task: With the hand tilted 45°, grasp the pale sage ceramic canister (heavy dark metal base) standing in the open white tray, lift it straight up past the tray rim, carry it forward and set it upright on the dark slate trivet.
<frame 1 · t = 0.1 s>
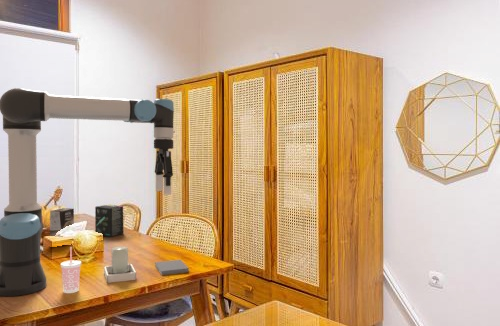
hand: (163, 192, 166), 28 cm above the table, tool pointing down, fingers open, 13 cm apart
white tray: (119, 276, 149), on the table
trivet: (171, 269, 159), on the table
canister: (119, 262, 149), in the white tray
beverage cup: (71, 291, 135), on the table
tampon box: (109, 234, 215), on the table
coffee box: (62, 244, 194), on the table
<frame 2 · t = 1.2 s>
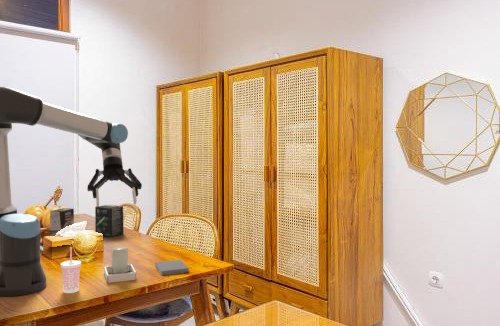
hand: (116, 203, 160), 24 cm above the table, tool tilted 45°, fingers open, 13 cm apart
nothing on the table moved.
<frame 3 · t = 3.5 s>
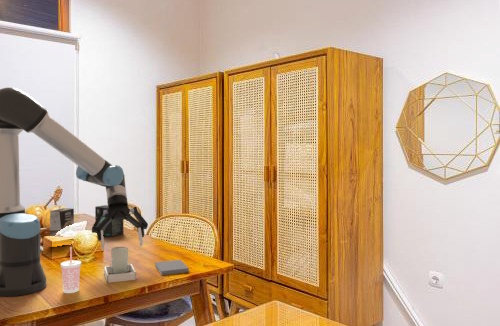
hand: (122, 246, 154), 10 cm above the table, tool tilted 45°, fingers open, 13 cm apart
nothing on the table moved.
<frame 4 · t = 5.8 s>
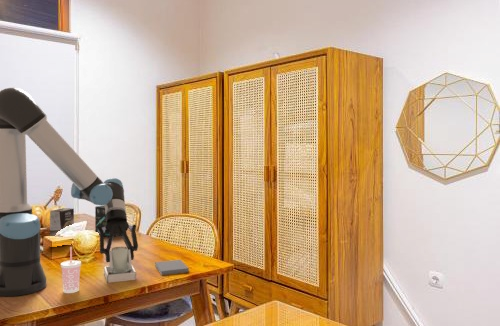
hand: (121, 268, 146), 4 cm above the table, tool tilted 45°, fingers closed on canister, 6 cm apart
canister: (119, 262, 149), in the white tray, touching gripper
everything else where it was.
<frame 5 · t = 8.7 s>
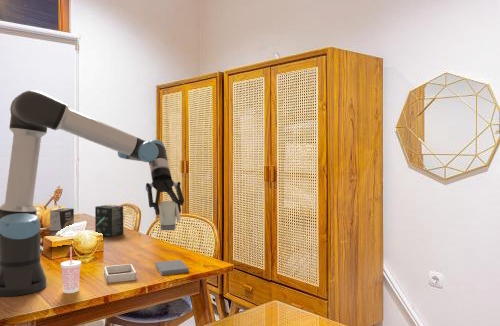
hand: (170, 220, 154), 19 cm above the table, tool tilted 45°, fingers closed on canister, 6 cm apart
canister: (167, 215, 157), point 20 cm above the table, touching gripper
everything else where it was.
when the fingers open (6 cm above the table, at t = 11.4 s): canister drops 1 cm, resting on trivet.
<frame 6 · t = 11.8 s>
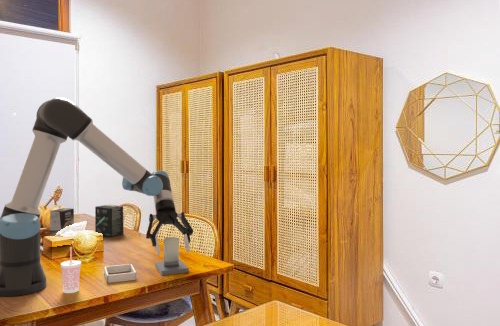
hand: (173, 251, 156), 7 cm above the table, tool tilted 45°, fingers open, 10 cm apart
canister: (171, 251, 158), on the trivet, point 6 cm above the table
everything else where it was.
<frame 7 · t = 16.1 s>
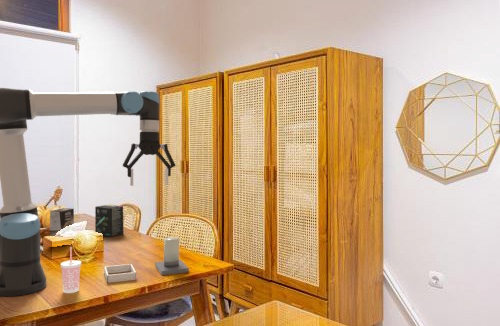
hand: (149, 185, 167), 31 cm above the table, tool pointing down, fingers open, 13 cm apart
nothing on the table moved.
at the end: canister inside the target area on the trivet (0.1 cm from its centre), point 6.5 cm above the trivet's base; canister tilted 0°; the gripper is holding nothing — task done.
